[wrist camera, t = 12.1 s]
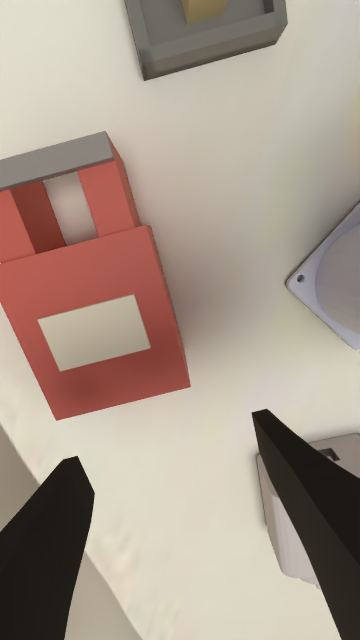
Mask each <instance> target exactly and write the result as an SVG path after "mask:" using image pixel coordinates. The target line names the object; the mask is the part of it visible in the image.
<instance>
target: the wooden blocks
mask: <svg viewBox="0 0 360 640" xmlns="http://www.w3.org/2000/svg"><path fill="white" fill-rule="evenodd" d="M227 1H228V0H182V4H183V9H184V14H185V19H186V24H187V25H188V24H191V23H195V22H198V21H201V20H205V19H208V18H211V17H215V16H218V15H221V14H224V12H225V8H226V5H227Z"/></svg>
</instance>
